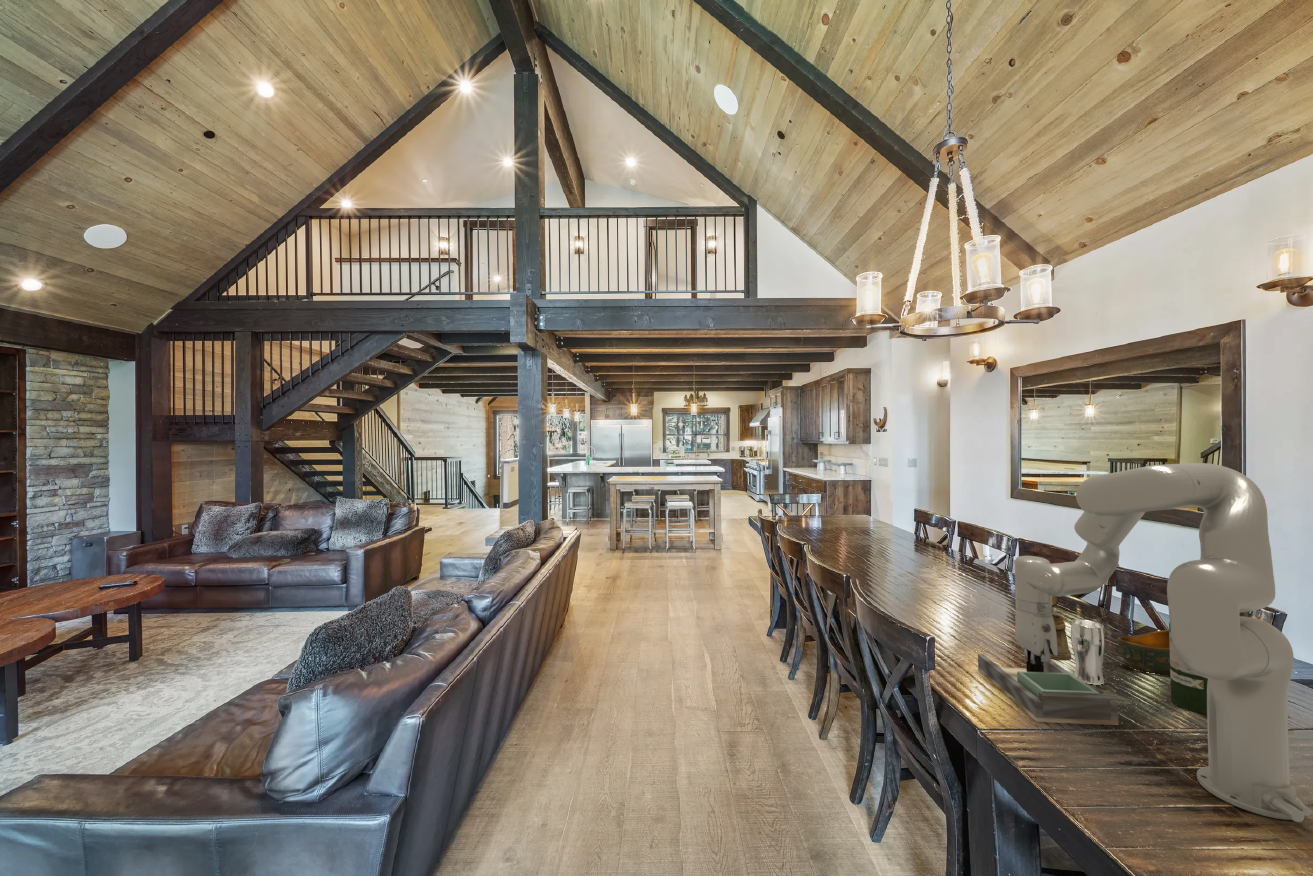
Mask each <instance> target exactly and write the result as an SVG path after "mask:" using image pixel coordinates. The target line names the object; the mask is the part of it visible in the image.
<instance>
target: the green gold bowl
mask: <svg viewBox="0 0 1313 876" xmlns="http://www.w3.org/2000/svg"><path fill="white" fill-rule="evenodd" d="M1117 646H1118V651H1119V653H1120V656H1121V658H1122V659H1123V661H1124V662H1125V663H1126V664H1128V667H1129V668H1130V667H1131V668H1133V669H1136V670H1140V671H1143V672H1149V673H1155V674H1160V675H1159V676H1164V675H1170V640H1169V629H1167V630H1159V631H1152V632H1147V633H1144V634H1139V635H1138V634H1137V635H1124V636H1118V637H1117ZM1131 668H1130V669H1131ZM1133 669H1132V670H1133Z"/></svg>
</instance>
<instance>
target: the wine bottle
mask: <svg viewBox="0 0 1313 876" xmlns="http://www.w3.org/2000/svg"><path fill="white" fill-rule="evenodd" d="M1168 630H1169V640H1170V676H1169V678H1170V701H1171V702H1172V701H1173V702H1174V703H1175V704H1174V703H1173V702H1172V703H1173V704H1174V705H1176V704H1177V705H1178V707H1179V706H1180V707H1179V708H1181V707H1182V709H1183V708H1184V710H1187V711H1189V712H1193V713H1196V714H1201V715H1207V681H1208V678H1205V677H1202V676H1200V675H1198V674H1196V673H1194V672H1192V671H1191V670H1190V669H1188V668H1187V667H1186V666H1185V665H1184V664H1183V663H1182V662H1181V660H1180V659H1179V657H1178V656H1177V654H1176V652H1175V650H1174V647H1173V643H1172V638H1171V629H1170V621H1169V622H1168ZM1177 705H1176V706H1177Z"/></svg>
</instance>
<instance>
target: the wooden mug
mask: <svg viewBox="0 0 1313 876" xmlns="http://www.w3.org/2000/svg"><path fill="white" fill-rule="evenodd" d="M1058 604H1059V596H1052V615H1051V616H1053V619H1054V623H1055V628H1056V635H1057V647H1058V654H1057V656H1052V655H1051V654H1050V659H1051V658H1052V660H1061V661H1065V660H1070V659H1072V653H1071V650H1070V647H1069V643H1068V638H1067V637H1068V636H1067V634H1066V622H1065V621H1064V617H1062V616H1061V615H1058V614H1057V615H1056V614H1054V609H1053V608H1054V607H1056V606H1058Z"/></svg>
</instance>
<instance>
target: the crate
mask: <svg viewBox="0 0 1313 876" xmlns="http://www.w3.org/2000/svg"><path fill="white" fill-rule="evenodd" d="M1070 673H1071V672H1069V673H1052V672H1019V671H1017V681H1018V682H1019V683H1020V684H1021V685H1022V686H1023V687H1025V688H1026V689H1027V690H1028V691H1030V692H1031V693H1032V694H1033V695H1035V696H1036V697H1037V698H1038V699H1039V692H1041V693H1069V694H1098V695H1100V693H1101V692H1100V691H1098V690H1096V689H1095V690H1094V688H1093V687H1092V686H1091V685H1089V684H1085V683H1084V682H1082V681H1081V680H1079V679H1078V678H1076V677H1075V676H1073V675H1074V674H1072V673H1071V674H1070ZM1088 685H1089V686H1088ZM1091 687H1092V688H1091ZM1097 691H1098V692H1097Z"/></svg>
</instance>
